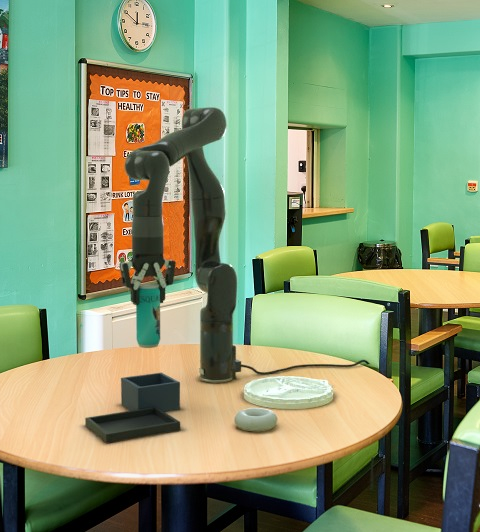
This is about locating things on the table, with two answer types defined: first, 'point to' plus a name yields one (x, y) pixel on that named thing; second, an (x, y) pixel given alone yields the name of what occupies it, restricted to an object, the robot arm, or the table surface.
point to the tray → (131, 424)
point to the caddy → (150, 392)
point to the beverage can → (148, 316)
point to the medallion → (288, 392)
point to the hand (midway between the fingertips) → (148, 303)
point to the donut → (255, 419)
